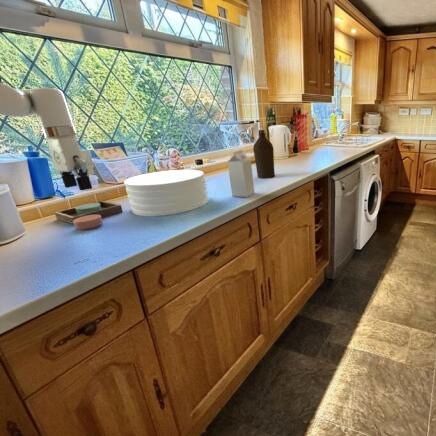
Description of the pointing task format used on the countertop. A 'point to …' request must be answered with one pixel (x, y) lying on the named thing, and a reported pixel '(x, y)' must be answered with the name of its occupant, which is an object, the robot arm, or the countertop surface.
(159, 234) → the countertop surface
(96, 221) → the terracotta round puck
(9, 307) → the countertop surface
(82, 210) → the green disc
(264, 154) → the olive oil
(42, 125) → the robot arm
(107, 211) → the tray
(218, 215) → the countertop surface
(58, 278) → the countertop surface
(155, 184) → the plate stack
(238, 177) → the milk carton
